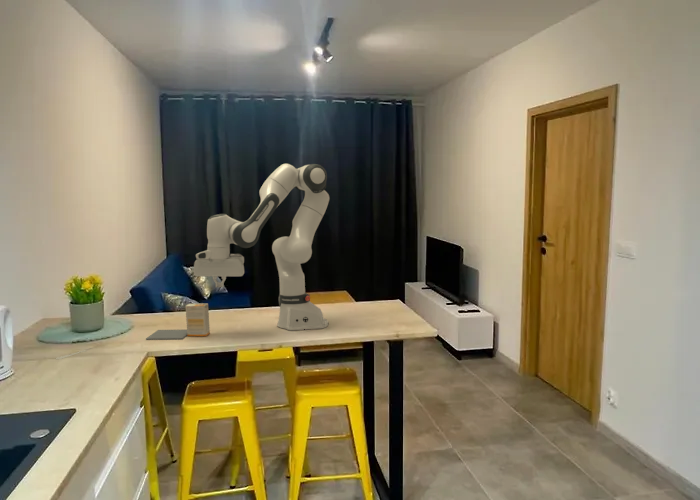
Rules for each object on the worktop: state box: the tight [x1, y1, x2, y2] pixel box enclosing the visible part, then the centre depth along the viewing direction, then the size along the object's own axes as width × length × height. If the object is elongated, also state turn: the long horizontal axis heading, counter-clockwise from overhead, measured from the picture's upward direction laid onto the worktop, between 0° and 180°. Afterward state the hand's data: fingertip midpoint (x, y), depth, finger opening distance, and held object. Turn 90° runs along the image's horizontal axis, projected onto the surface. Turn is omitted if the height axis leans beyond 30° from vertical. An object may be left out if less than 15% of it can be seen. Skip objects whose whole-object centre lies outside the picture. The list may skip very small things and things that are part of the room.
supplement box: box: [185, 302, 211, 337], centre depth 215 cm, size 8×5×13 cm, turn 84°
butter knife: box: [55, 349, 86, 360], centre depth 197 cm, size 1×24×3 cm
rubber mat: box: [145, 329, 188, 341], centre depth 216 cm, size 15×13×1 cm
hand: (219, 287), depth 213 cm, fingers closed
